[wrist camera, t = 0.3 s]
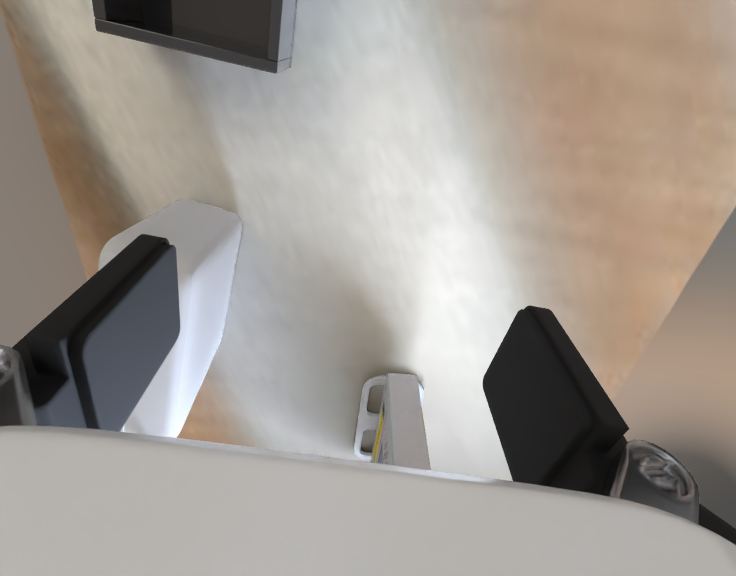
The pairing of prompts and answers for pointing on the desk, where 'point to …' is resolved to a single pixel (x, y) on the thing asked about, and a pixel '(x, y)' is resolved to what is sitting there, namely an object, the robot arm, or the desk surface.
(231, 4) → the open storage box
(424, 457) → the network device
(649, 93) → the desk surface
